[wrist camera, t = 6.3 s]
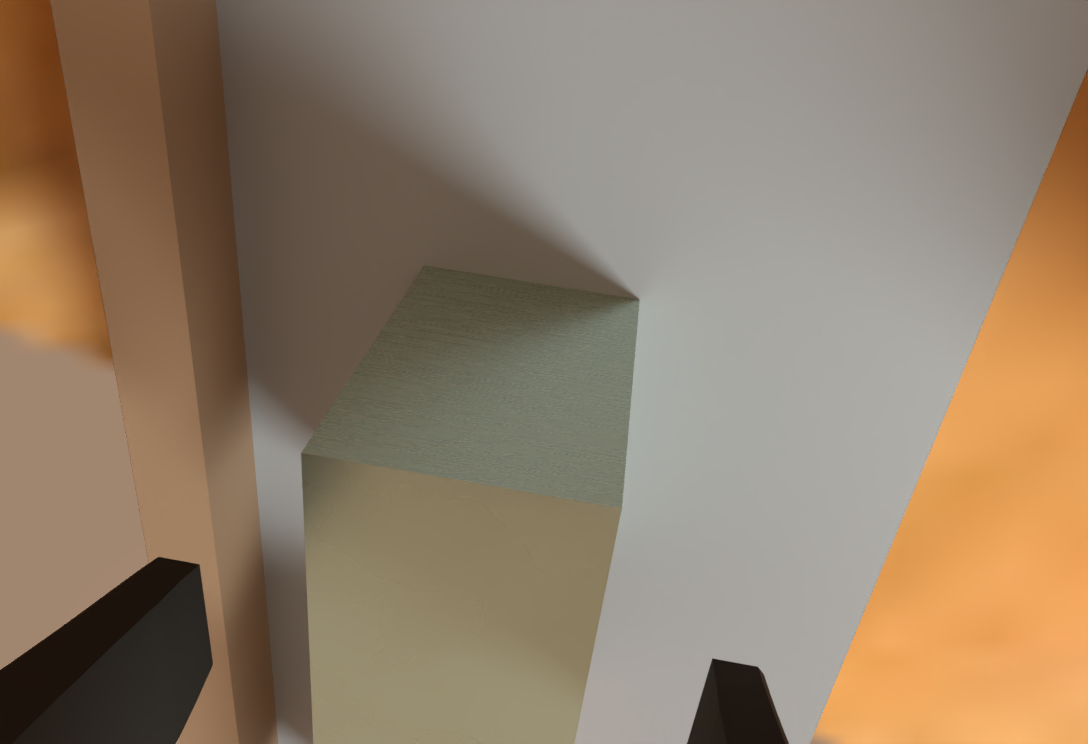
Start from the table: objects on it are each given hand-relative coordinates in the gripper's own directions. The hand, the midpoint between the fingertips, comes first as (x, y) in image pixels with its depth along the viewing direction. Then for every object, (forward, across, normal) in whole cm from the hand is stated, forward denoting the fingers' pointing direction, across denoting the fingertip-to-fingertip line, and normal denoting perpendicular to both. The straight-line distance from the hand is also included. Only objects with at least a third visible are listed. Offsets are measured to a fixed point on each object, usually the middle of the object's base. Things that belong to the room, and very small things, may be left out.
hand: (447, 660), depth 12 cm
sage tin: (+6, 0, 0) cm, 6 cm away
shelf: (+7, 0, +1) cm, 7 cm away
